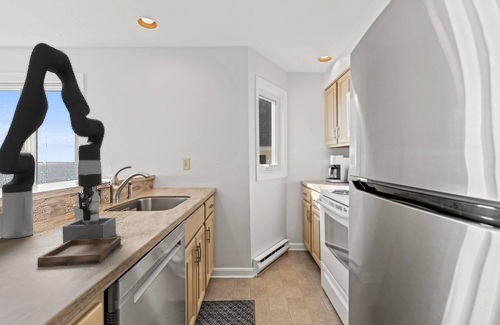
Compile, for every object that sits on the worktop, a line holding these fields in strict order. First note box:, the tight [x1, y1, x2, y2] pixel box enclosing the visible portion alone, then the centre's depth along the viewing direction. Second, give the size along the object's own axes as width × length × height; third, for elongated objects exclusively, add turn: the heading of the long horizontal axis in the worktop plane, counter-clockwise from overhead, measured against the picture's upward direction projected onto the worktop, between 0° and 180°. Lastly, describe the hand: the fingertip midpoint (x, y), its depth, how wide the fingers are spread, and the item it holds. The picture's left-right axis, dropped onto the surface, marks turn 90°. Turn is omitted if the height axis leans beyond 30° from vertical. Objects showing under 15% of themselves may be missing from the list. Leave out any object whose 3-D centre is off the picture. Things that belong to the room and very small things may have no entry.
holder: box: [62, 217, 117, 244], centre depth 104 cm, size 13×13×6 cm
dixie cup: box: [72, 202, 82, 221], centre depth 126 cm, size 8×8×10 cm
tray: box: [37, 236, 122, 268], centre depth 87 cm, size 16×18×2 cm
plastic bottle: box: [82, 186, 101, 225], centre depth 104 cm, size 6×7×20 cm
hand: (90, 218), depth 104 cm, fingers closed on plastic bottle, 6 cm apart
